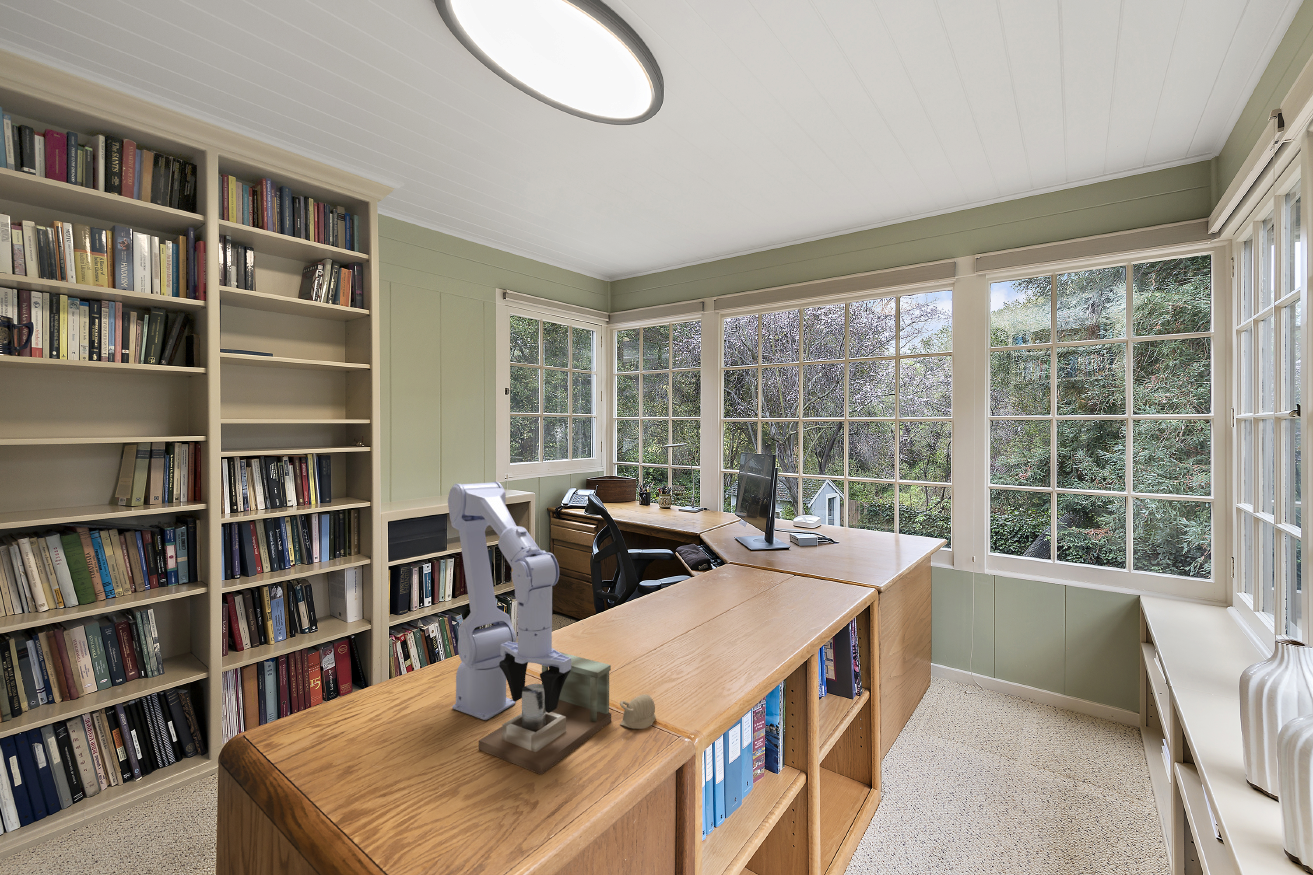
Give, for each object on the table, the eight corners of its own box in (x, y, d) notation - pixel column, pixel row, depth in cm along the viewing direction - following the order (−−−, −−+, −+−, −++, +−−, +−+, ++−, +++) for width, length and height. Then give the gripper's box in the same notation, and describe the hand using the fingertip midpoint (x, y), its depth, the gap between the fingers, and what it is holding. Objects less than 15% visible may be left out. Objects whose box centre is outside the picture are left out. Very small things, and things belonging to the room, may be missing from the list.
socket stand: (478, 749, 92) (479, 687, 92) (553, 702, 108) (553, 650, 108) (541, 774, 85) (541, 707, 85) (611, 721, 101) (611, 665, 101)
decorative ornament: (661, 722, 101) (662, 693, 101) (624, 736, 96) (624, 705, 96) (649, 713, 104) (649, 685, 104) (612, 726, 99) (612, 697, 99)
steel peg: (516, 737, 93) (516, 690, 93) (534, 726, 96) (534, 681, 96) (533, 744, 91) (533, 696, 91) (550, 733, 94) (550, 687, 94)
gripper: (487, 624, 94) (486, 703, 94) (551, 640, 87) (551, 726, 87) (517, 613, 100) (516, 687, 100) (579, 627, 93) (578, 707, 93)
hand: (534, 704), depth 94 cm, fingers open, 7 cm apart
